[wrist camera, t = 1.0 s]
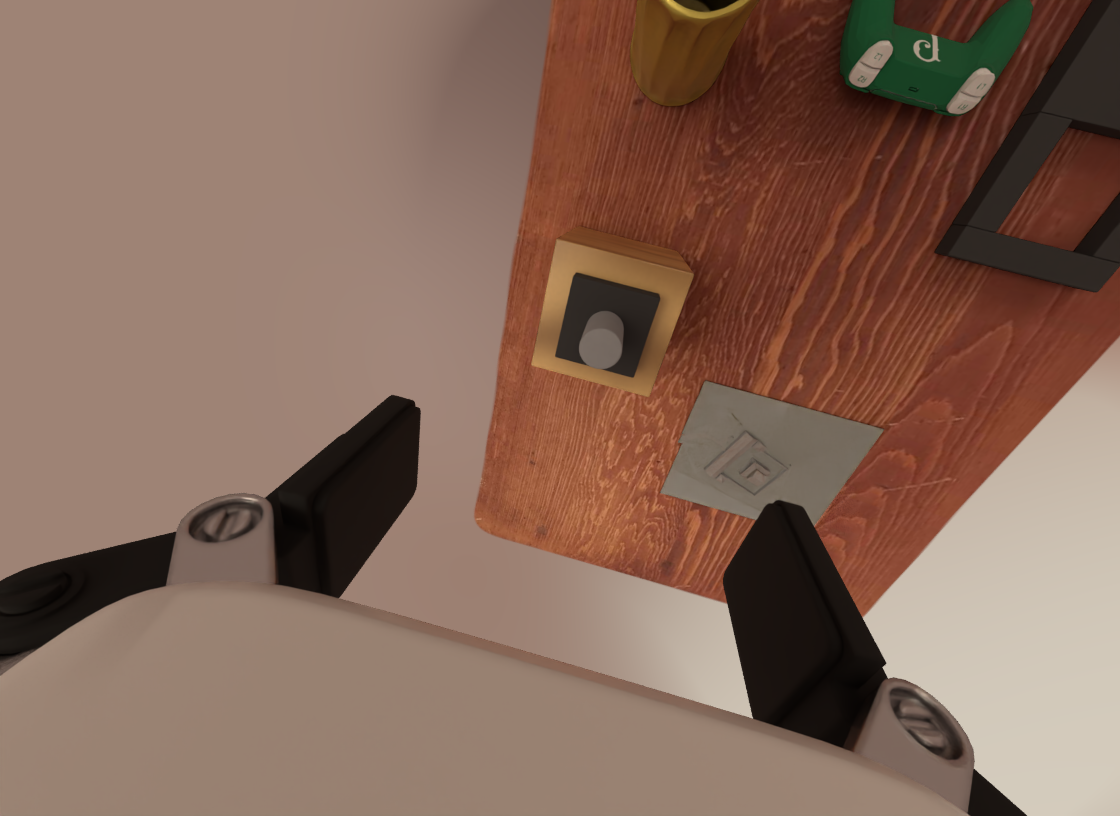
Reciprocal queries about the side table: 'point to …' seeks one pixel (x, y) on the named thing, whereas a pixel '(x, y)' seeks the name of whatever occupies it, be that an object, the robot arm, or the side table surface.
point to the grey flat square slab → (764, 453)
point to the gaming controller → (928, 57)
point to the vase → (683, 45)
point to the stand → (619, 265)
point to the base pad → (1058, 103)
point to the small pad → (614, 299)
